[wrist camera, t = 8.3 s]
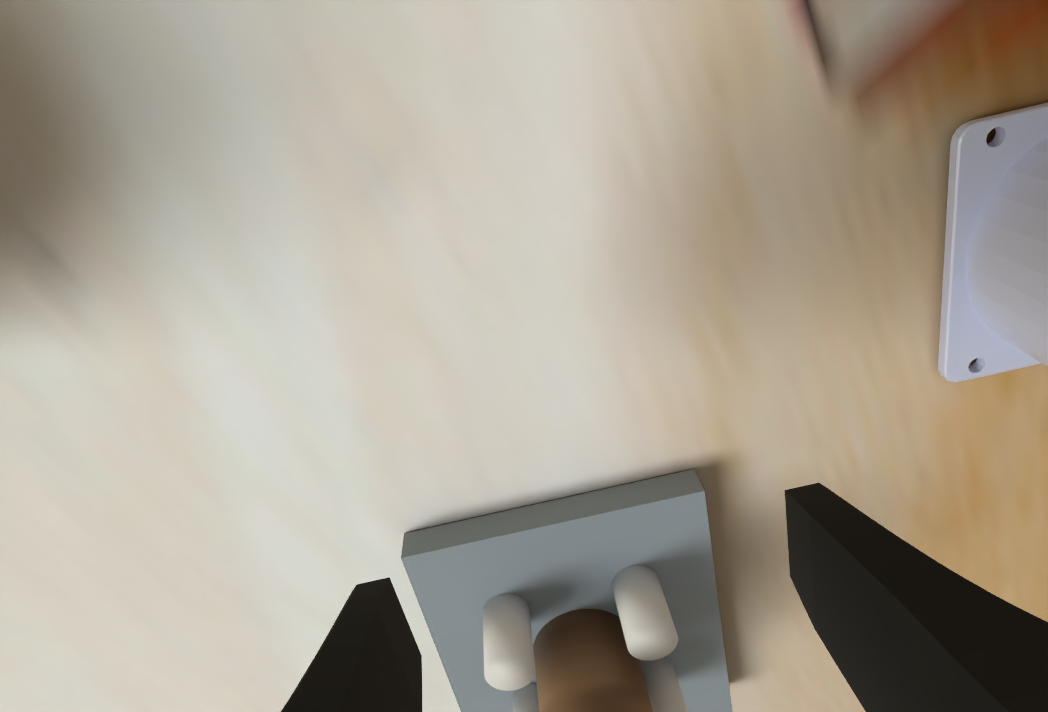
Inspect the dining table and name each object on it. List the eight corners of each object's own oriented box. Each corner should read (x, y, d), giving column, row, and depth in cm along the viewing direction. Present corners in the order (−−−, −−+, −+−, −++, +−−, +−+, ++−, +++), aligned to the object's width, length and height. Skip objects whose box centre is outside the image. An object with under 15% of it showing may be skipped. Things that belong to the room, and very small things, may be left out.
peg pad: (693, 469, 23) (731, 543, 20) (722, 687, 28) (756, 776, 25) (404, 533, 23) (393, 617, 20) (482, 738, 28) (484, 833, 25)
